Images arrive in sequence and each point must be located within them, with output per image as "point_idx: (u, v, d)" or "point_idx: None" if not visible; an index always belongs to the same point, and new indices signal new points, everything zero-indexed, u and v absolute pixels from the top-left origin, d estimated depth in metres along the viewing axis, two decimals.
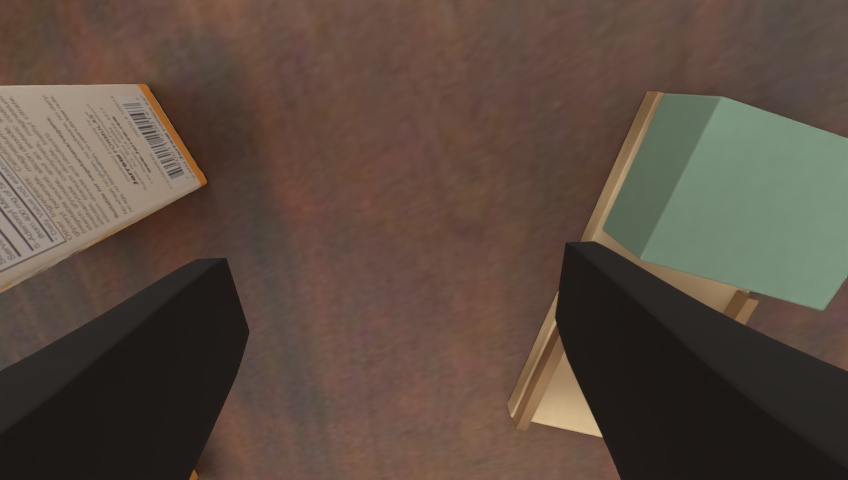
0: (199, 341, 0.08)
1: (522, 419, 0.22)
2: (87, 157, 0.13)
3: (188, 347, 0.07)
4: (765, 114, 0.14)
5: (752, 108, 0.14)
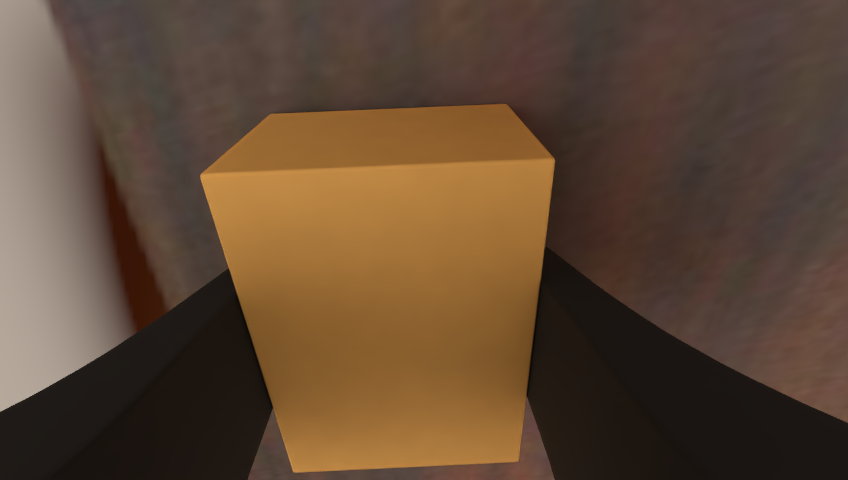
0: None
1: None
2: None
3: (246, 344, 0.07)
4: None
5: None
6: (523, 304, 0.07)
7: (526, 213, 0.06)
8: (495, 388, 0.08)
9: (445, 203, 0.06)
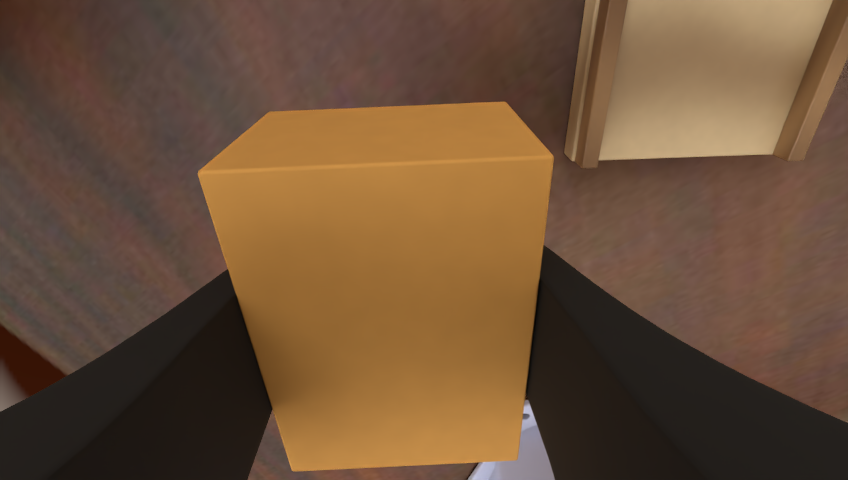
0: None
1: (587, 150, 0.15)
2: None
3: (246, 345, 0.07)
4: None
5: None
6: (522, 302, 0.07)
7: (525, 210, 0.06)
8: (494, 387, 0.08)
9: (443, 200, 0.06)
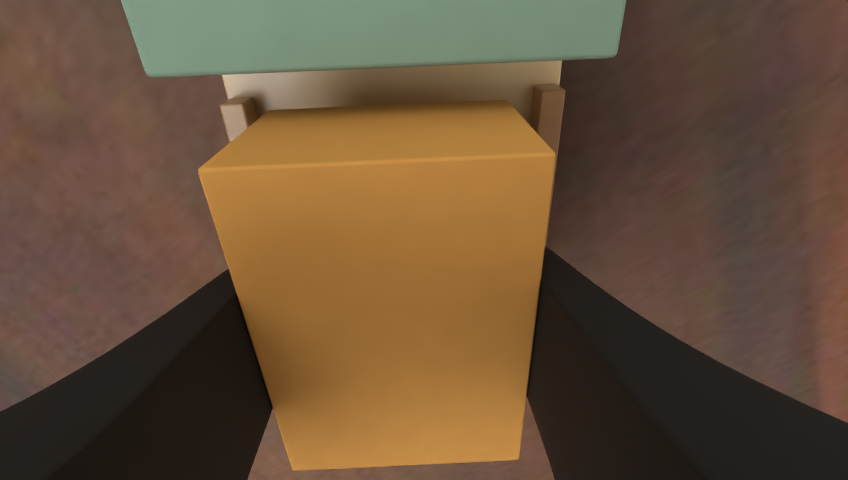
0: None
1: None
2: None
3: (247, 344, 0.07)
4: None
5: None
6: (523, 300, 0.07)
7: (527, 208, 0.06)
8: (495, 386, 0.08)
9: (445, 197, 0.06)
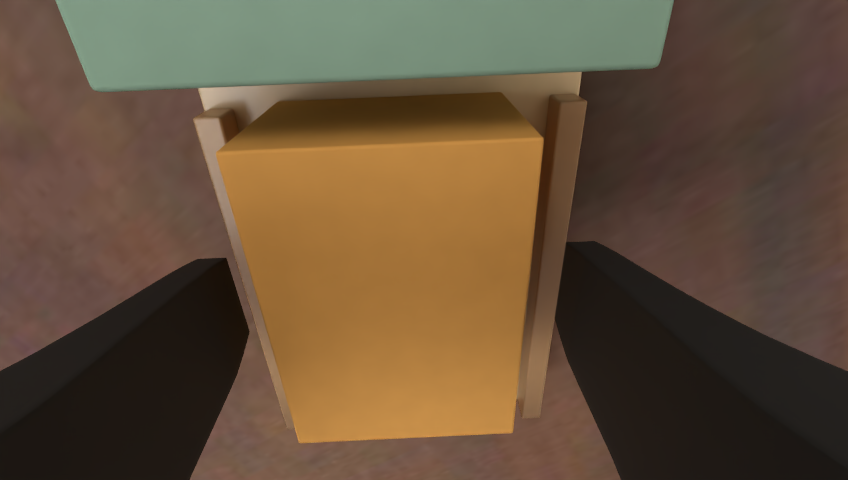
0: (199, 341, 0.08)
1: (286, 415, 0.13)
2: None
3: (187, 348, 0.07)
4: None
5: None
6: (516, 277, 0.08)
7: (517, 189, 0.07)
8: (490, 360, 0.09)
9: (442, 179, 0.07)
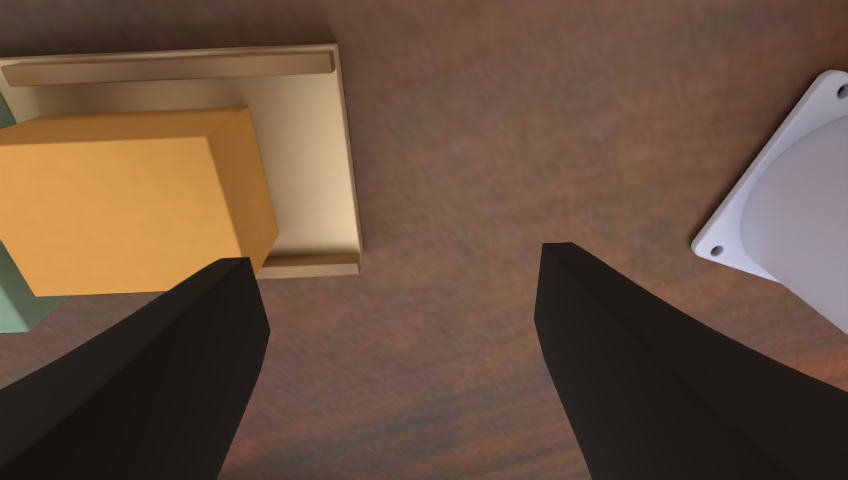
0: (226, 340, 0.08)
1: (342, 273, 0.17)
2: None
3: (216, 346, 0.07)
4: None
5: None
6: (44, 152, 0.12)
7: None
8: (125, 163, 0.12)
9: None
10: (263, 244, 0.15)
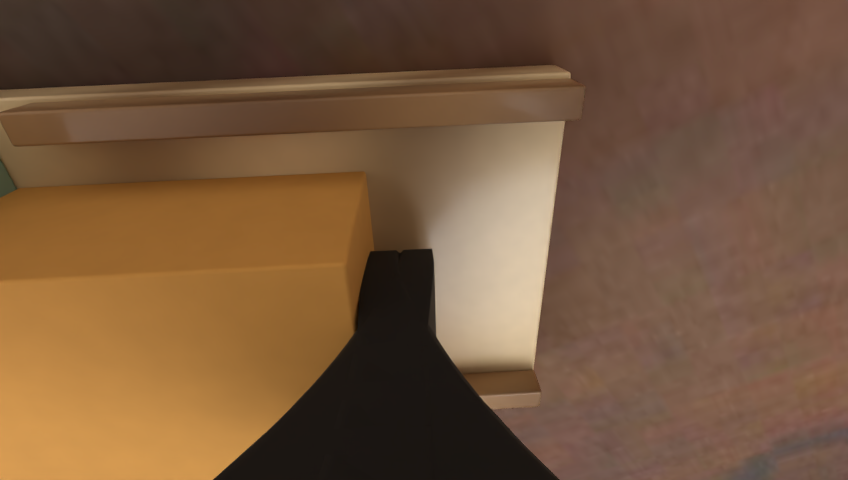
0: (434, 330, 0.08)
1: (514, 405, 0.11)
2: None
3: None
4: None
5: None
6: (19, 296, 0.06)
7: None
8: (179, 311, 0.06)
9: None
10: None
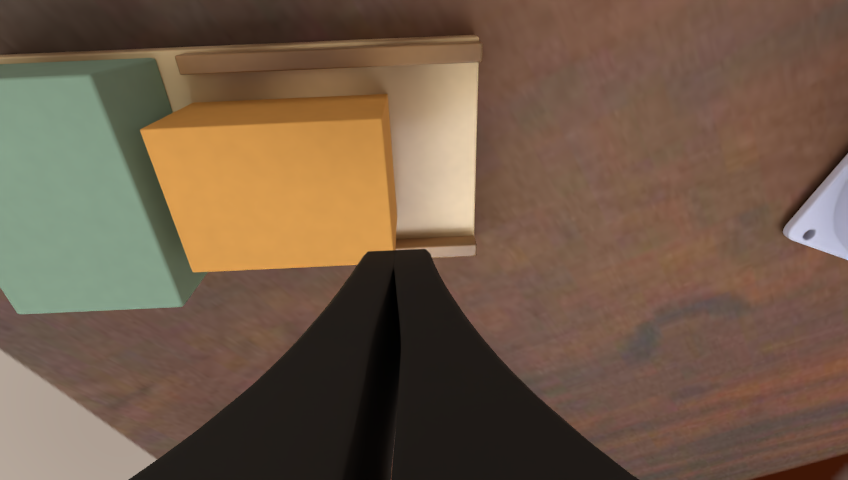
0: (393, 332, 0.08)
1: (460, 254, 0.18)
2: None
3: (390, 338, 0.07)
4: None
5: (2, 288, 0.15)
6: (230, 134, 0.12)
7: (171, 139, 0.12)
8: (302, 143, 0.13)
9: (177, 179, 0.13)
10: (395, 224, 0.16)
